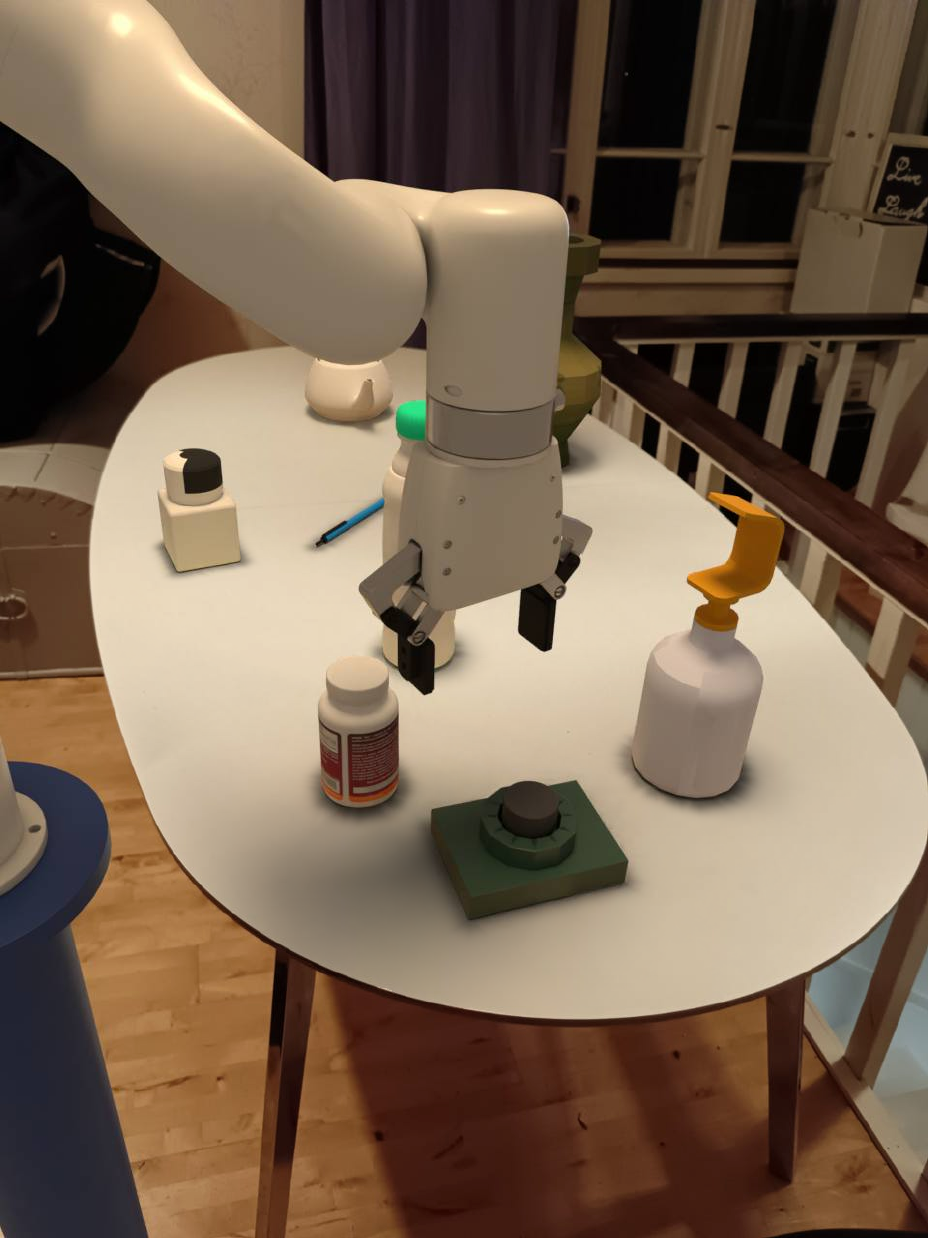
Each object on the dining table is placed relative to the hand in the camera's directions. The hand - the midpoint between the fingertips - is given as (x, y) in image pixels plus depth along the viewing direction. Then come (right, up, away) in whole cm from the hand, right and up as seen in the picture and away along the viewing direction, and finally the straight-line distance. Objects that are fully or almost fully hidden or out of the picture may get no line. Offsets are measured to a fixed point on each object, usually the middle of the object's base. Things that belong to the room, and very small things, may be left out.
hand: (477, 662), depth 65 cm
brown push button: (+4, -12, +4) cm, 13 cm away
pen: (-14, +15, +54) cm, 58 cm away
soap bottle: (+18, -10, +16) cm, 26 cm away
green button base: (+4, -15, +6) cm, 16 cm away
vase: (+10, +26, +73) cm, 78 cm away
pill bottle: (-9, -11, +12) cm, 18 cm away
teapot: (-19, +35, +85) cm, 94 cm away
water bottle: (-5, -1, +28) cm, 29 cm away
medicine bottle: (-31, +10, +44) cm, 55 cm away
